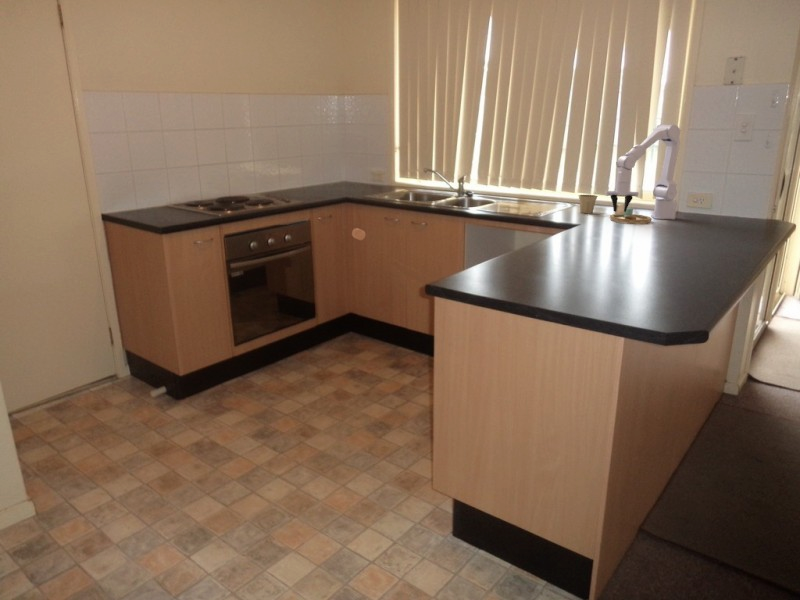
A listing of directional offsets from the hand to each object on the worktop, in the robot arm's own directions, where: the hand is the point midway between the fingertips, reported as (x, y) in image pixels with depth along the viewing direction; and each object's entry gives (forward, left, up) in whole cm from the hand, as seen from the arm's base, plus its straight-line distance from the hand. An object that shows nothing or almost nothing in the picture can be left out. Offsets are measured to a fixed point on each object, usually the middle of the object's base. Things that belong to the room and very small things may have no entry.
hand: (619, 211), depth 284 cm
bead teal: (-5, -5, -4) cm, 8 cm away
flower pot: (+12, -21, -4) cm, 24 cm away
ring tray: (-5, 0, -4) cm, 7 cm away
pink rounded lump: (+111, +68, -2) cm, 131 cm away
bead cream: (0, 0, -1) cm, 1 cm away
